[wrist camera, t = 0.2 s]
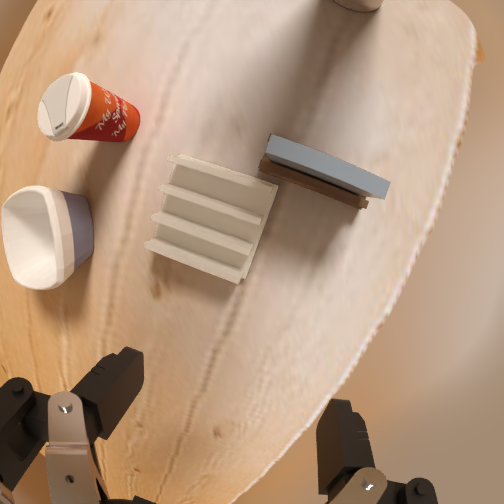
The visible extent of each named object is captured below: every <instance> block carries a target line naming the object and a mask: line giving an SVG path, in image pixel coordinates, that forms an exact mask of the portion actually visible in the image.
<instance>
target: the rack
mask: <svg viewBox="0 0 504 504" xmlns="http://www.w3.org/2000/svg"><path fill="white" fill-rule="evenodd" d="M168 161H169V162H172V163H174V166H173V170H172V173H171V176H170V179H169V183H168V184H163V185H160V188H159V191H161V192H164V193H165V197H164V200H163V204H162V208H161V211H160V212H158V213H154V214H152V217H151V220H152V221H155V222H158V223H157V227H156V231H155V235H154V239H152V240H149V241H147V242H145V247H144V248H146V249H148V250H151V251H153V252H156V253H158V254H161V255H163V256H166V257H168V258H171V259H173V260H176V261H178V262H181V263H183V264H186V265H188V266H191V267H194V268H196V269H199V270H201V271H204V272H207V273H209V274H212V275H214V276H217V277H220V278H222V279H225V280H228V281H230V282H233V283H236V284H239V282H240V280H241V278H243V279H246V277H247V274H248V271H249V268H250V266H251V263H252V260H253V257H254V254H255V252H256V249H257V246H258V243H259V240H260V238H261V235H262V232H263V229H264V227H265V224H266V221H267V218H268V215H269V213H270V210H271V207H272V204H273V201H274V199H275V196H276V193H277V190H278V187H279V186H278V185H275V184H273V183H270V182H267V181H264V180H261V179H258V178H255V177H252V176H249V175H246V174H243V173H240V172H237V171H234V170H231V169H228V168H225V167H222V166H218V165H215V164H212V163H209V162H205V161H202V160H199V159H195V158H192V157H188V156H185V155H181V154H177V156H173V155H169V158H168Z"/></svg>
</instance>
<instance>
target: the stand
mask: <svg viewBox="0 0 504 504" xmlns="http://www.w3.org/2000/svg"><path fill="white" fill-rule="evenodd" d="M270 137H271V134H270V136H269V139H268V143H269V140H270ZM293 142H294V141H293ZM320 152H321V151H320ZM335 158H336V157H335ZM354 166H355V165H354ZM259 168H260V169H259V171H261V172H264V173H267V174H270V175H273V176H276V177H279V178H281V179H284V180H287V181H290V182H292V183H295V184H298V185H301V186H303V187H306V188H308V189H311V190H314V191H316V192H319V193H321V194H324V195H326V196H329V197H331V198H334V199H336V200H339V201H341V202H344V203H346V204H348V205H351V206H353V207H356V208H358V209H360V210H361V209H362V208H365V209H366V208H367V205H368V202H369V201H367V200H365V198H366V196H360V195H357V194H354V193H352V192H350V191H347V190H345V189H342V188H340V187H338V186H335V185H333V184H330V183H328V182H325V181H323V180H320V179H318V178H315V177H312V176H310V175H307V174H305V173H302V172H299V171H296V170H294V169H291V168H288V167H285V166H283V165H280V164H277V163H274V162H271V161H270V159H269V158H268V156H267V154H266V153H265V155H264V158H263V160H261V161H260V164H259Z"/></svg>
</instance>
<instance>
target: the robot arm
mask: <svg viewBox="0 0 504 504" xmlns="http://www.w3.org/2000/svg"><path fill="white" fill-rule="evenodd" d="M334 1H335V2H337V3H338V4H340V5H342V6H344V7H346V8H348V9H352V10H355V11H361V12H369V11H373V10H376V9H378V8H379V7H380V5H381V4H382V2H383V0H334ZM143 382H144V357H143V353H142V352H140V351H137V350H135V349H132V348H129V347H125V348H124V349H123V350H122V351H121V352H120V353H119V354H118V355H116V354H114V353H112V354H110V355H107V356H105V357H103V358H102V359H101V360H100V361H99V362H98V363H97V364H96V366H94V367H93V368H92V369H91V371H89V372H88V373H87V374H86V375H85V376H84V378H83V379H82V380H81V381H80V382H79V383H78V384H77V385H76V386H75V387H74V388H73V389H72V390H71V391H70V392H66V391H63V392H58V393H55V394H53V395H52V396H50V395H46V394H43V393H39V392H36V391H34V390H33V387H32V385H31V383H30V382H29V381H28V380H26V379H24V378H20V377H16V378H12V379H10V380H8V381H7V382H6V383H5V384H4V385H3V386H2V387H1V388H0V504H15V502H14V497H13V494H12V491H13V490H14V488H15V486H16V485H17V483H18V482H19V480H20V479H21V477H22V476H23V474H24V473H25V471H26V470H27V469H28V467H29V466H30V464H31V463H32V461H33V460H34V458H35V457H36V456H37V454H38V453H39V451H40V450H41V449H42V447H43V446H44V444H45V443H46V442H49V446H46V447H45V458H46V467H47V476H48V483H49V489H50V495H51V501H52V504H156V503H153V502H151V501H148V500H145V499H143V498H140V497H138V496H134V498H133V500H126V499H110V497H109V494H108V491H107V488H106V486H105V483H104V480H103V477H102V473H101V469H100V465H99V461H98V456H97V452H96V447H95V443H94V442H95V440H96V439H97V438H98V436H99V437H101V438H103V439H105V440H107V439H108V438H109V436H110V435H111V433H112V432H113V430H114V429H115V427H116V426H117V424H118V423H119V421H120V420H121V418H122V417H123V415H124V414H125V412H126V411H127V409H128V408H129V406H130V405H131V404H132V402H133V401H134V399H135V398H136V396H137V395H138V393H139V392H140V390H141V388H142V386H143ZM368 439H369V437H368V433H367V429H366V425H365V421H364V420H363V418H362V417H361V416H360V414H359V413H356V412H352V407H351V403H350V401H349V400H341V399H331V400H330V401H329V403H328V405H327V407H326V409H325V411H324V413H323V415H322V416H321V418H320V420H319V422H318V425H317V429H316V441H317V459H318V460H317V461H318V487H319V488H318V489H319V494H323V495H328V501H327V502H326V503H325V504H438V502H437V497H436V493H435V489H434V486H433V485H432V483H431V482H430V481H428V480H427V479H424V478H414V479H412V480H411V481H409V482H408V483H407V484H404V483H398V482H393V481H389V480H387V479H386V476H385V475H384V474H383V473H382V472H381V471H380V470H378V469H376V468H375V464H374V459H373V455H372V451H371V446H370V442H369V440H368Z"/></svg>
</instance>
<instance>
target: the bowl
mask: <svg viewBox="0 0 504 504" xmlns="http://www.w3.org/2000/svg"><path fill="white" fill-rule="evenodd" d="M1 219H2V235H3V243H4V248H5V253H6V258H7V261H8V265H9V268H10V271H11V274H12V276H13V278H14V280H15V281H16V282H17V283H19V284H20V285H22V286H25V287H27V288H30V289H35V290H50V289H54V288H57V287H58V286H60V285H61V284H62V283H63V282H64V281H65V280H66V279H67V278H68V277H69V276H70V275H71V274H72V273H73V272H74V271H75V270H76V269H77V268H78V267H79V266H80V265H81V264H82V263H84V262H85V261H86V260H87V259H88V258H89V257H90V256H91V255H92V254H93V249H94V233H93V223H92V217H91V213H90V209H89V205H88V202H87V200H86V198H85V197H83V196H80V195H76V194H72V193H68V192H64V191H59V190H56V189H52V188H48V187H44V186H29V187H24V188H22V189H20V190H18V191H16V192H15V193H14V194H12V195H11V196H10V197H8V199H7V200H6V201H5V203H4V204H3V206H2V217H1Z"/></svg>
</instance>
